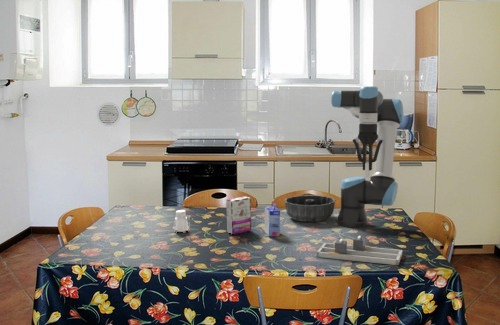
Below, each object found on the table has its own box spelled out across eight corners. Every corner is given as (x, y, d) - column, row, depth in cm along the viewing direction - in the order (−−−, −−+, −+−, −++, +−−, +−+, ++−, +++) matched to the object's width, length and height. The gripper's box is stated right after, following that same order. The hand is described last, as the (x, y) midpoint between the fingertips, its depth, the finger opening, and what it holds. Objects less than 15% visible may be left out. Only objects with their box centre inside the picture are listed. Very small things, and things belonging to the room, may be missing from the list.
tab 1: (337, 254, 231) (337, 238, 230) (346, 255, 229) (347, 238, 228) (334, 257, 227) (334, 240, 226) (344, 258, 225) (344, 241, 224)
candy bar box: (245, 229, 275) (245, 195, 273) (251, 231, 271) (251, 197, 269) (226, 233, 269) (225, 199, 266) (232, 235, 265) (231, 200, 262)
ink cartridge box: (280, 236, 262) (280, 205, 260) (268, 237, 261) (268, 206, 259) (275, 230, 272) (275, 201, 269) (264, 231, 271) (263, 201, 268)
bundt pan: (277, 215, 303) (276, 196, 301) (322, 210, 311) (322, 193, 309) (295, 227, 278) (295, 207, 277) (344, 222, 286) (344, 202, 285)
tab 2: (355, 250, 235) (355, 235, 234) (364, 251, 233) (365, 235, 232) (353, 254, 230) (353, 237, 229) (362, 255, 229) (363, 238, 228)
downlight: (191, 229, 276) (190, 209, 275) (188, 233, 269) (187, 212, 268) (175, 229, 277) (174, 209, 276) (172, 233, 270) (170, 213, 269)
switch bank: (324, 249, 241) (324, 241, 240) (402, 257, 229) (402, 249, 229) (316, 259, 228) (316, 251, 227) (398, 268, 217) (398, 259, 216)
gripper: (351, 123, 240) (350, 178, 243) (382, 124, 235) (381, 180, 239) (354, 122, 247) (353, 175, 250) (385, 122, 242) (383, 177, 246)
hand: (367, 177), depth 244 cm, fingers closed
